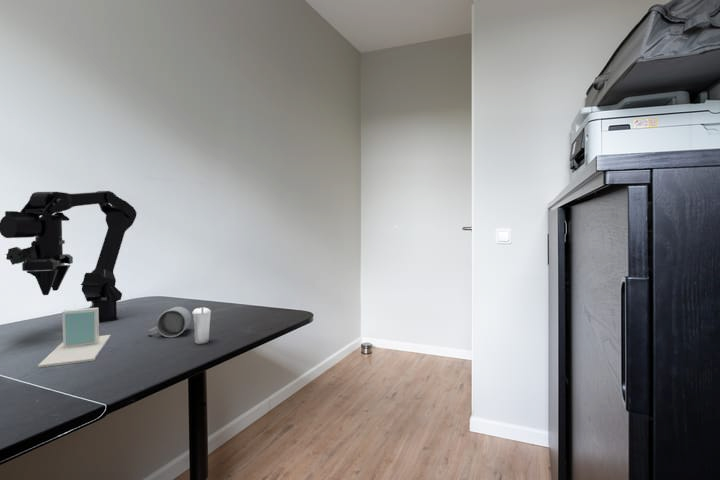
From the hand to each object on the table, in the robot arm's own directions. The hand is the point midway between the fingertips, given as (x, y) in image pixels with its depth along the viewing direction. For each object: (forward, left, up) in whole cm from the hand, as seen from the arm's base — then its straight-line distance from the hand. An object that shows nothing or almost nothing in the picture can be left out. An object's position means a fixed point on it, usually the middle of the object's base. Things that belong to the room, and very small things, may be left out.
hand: (50, 292), depth 102 cm
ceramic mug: (-24, +22, -12) cm, 35 cm away
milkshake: (-27, +36, -12) cm, 47 cm away
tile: (-4, +18, -12) cm, 22 cm away
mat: (-3, +21, -12) cm, 24 cm away
